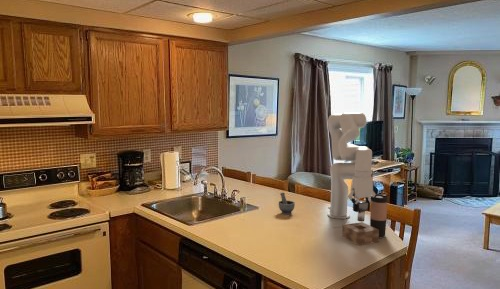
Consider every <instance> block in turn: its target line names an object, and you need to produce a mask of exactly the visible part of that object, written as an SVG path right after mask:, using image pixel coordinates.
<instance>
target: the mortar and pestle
mask: <svg viewBox="0 0 500 289" xmlns="http://www.w3.org/2000/svg"><path fill="white" fill-rule="evenodd" d="M279 194H280V198H281V200H280V201H278V208H279V210H280V211H281V215H283V216H292V215H293V214H292V213H293V212H294V210H295V205H296V202H295V201H292V200H287V198H286V194H285V192H281V193H279Z"/></svg>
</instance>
